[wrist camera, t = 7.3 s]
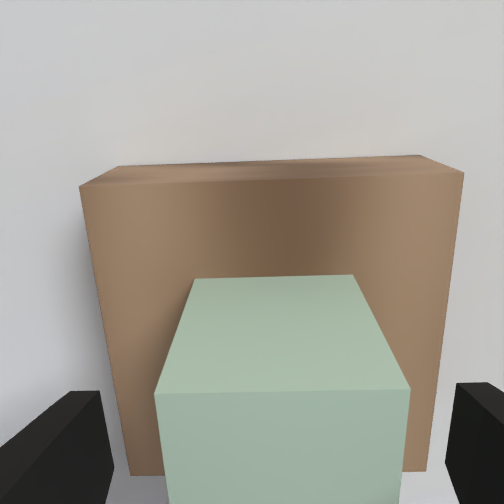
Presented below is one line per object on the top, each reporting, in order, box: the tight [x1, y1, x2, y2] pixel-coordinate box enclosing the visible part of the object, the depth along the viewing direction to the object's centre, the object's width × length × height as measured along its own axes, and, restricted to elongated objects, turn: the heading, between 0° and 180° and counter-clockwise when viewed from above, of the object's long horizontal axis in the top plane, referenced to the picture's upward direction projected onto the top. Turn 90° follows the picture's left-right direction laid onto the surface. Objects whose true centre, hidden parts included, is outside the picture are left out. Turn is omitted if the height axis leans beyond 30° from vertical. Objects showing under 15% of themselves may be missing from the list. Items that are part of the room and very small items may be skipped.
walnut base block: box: [79, 155, 464, 476], centre depth 13 cm, size 9×9×3 cm
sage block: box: [154, 275, 411, 504], centre depth 10 cm, size 4×4×4 cm
